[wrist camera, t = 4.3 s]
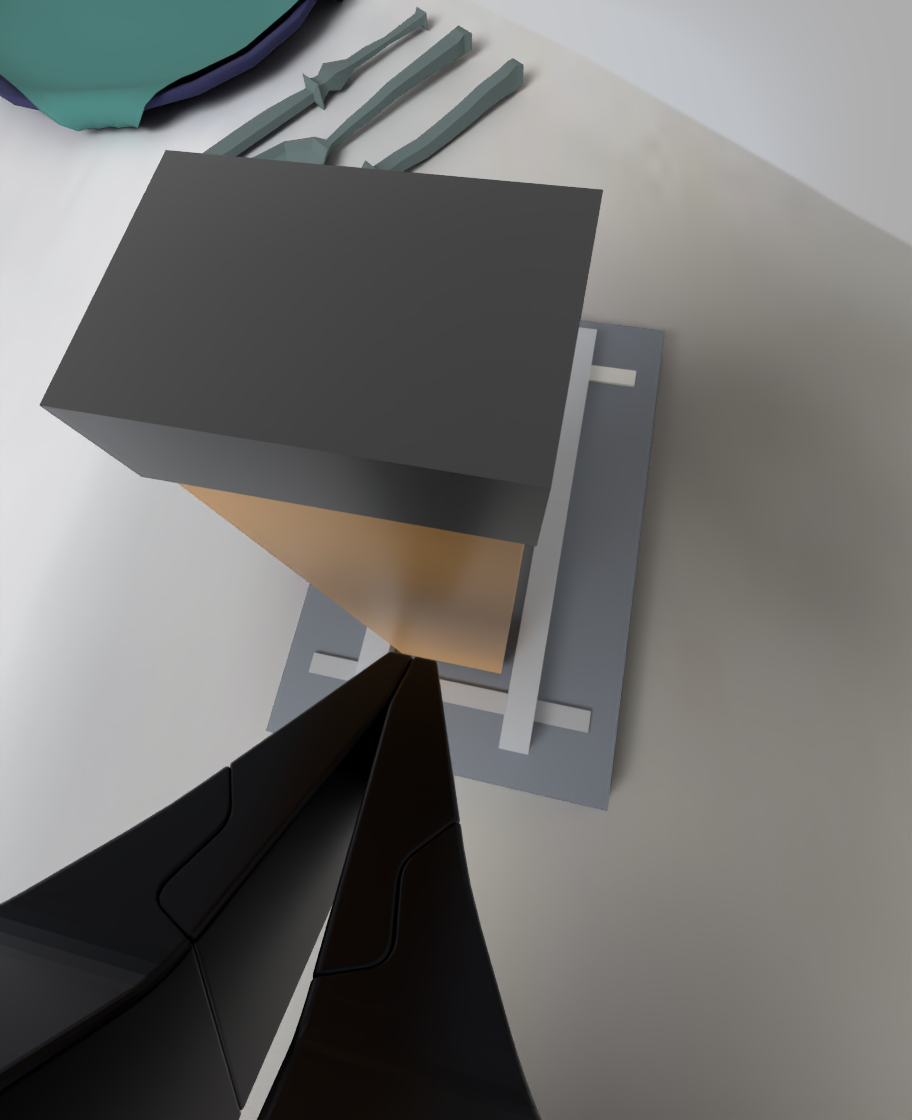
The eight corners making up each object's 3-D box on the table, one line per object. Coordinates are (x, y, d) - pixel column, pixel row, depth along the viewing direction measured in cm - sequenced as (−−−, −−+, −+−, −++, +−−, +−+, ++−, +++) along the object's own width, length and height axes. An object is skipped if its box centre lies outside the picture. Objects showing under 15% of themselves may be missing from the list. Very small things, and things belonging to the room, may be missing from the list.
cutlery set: (206, -130, 33) (185, -191, 30) (561, 87, 25) (567, 26, 23) (-77, 35, 30) (-122, -20, 27) (227, 341, 22) (197, 299, 20)
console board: (599, 805, 15) (613, 815, 14) (279, 730, 17) (254, 730, 15) (656, 349, 20) (671, 314, 18) (399, 317, 21) (391, 281, 19)
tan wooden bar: (503, 678, 15) (550, 489, 3) (398, 655, 16) (39, 406, 3) (517, 605, 16) (603, 190, 4) (414, 585, 16) (165, 149, 4)
